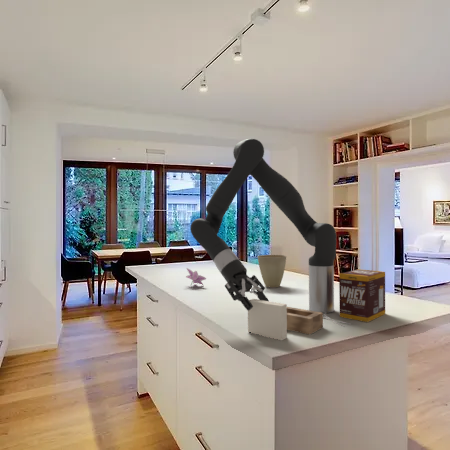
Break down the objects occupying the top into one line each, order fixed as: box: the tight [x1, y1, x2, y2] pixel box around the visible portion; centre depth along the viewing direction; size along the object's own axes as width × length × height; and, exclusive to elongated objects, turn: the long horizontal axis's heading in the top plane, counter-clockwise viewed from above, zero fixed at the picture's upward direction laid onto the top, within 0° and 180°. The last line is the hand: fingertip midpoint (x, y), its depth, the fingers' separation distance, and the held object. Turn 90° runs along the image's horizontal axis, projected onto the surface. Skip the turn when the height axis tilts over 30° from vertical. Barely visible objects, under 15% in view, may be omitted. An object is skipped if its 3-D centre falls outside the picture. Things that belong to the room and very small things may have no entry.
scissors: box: [323, 313, 350, 328], centre depth 125 cm, size 11×1×20 cm
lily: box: [185, 267, 207, 286], centre depth 189 cm, size 12×12×10 cm
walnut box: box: [287, 306, 324, 335], centre depth 118 cm, size 20×9×5 cm, turn 50°
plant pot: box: [257, 254, 287, 288], centre depth 187 cm, size 15×15×16 cm
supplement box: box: [338, 268, 386, 323], centre depth 129 cm, size 10×15×16 cm
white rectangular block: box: [247, 298, 288, 341], centre depth 109 cm, size 12×3×10 cm, turn 50°
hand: (259, 306), depth 110 cm, fingers open, 8 cm apart
